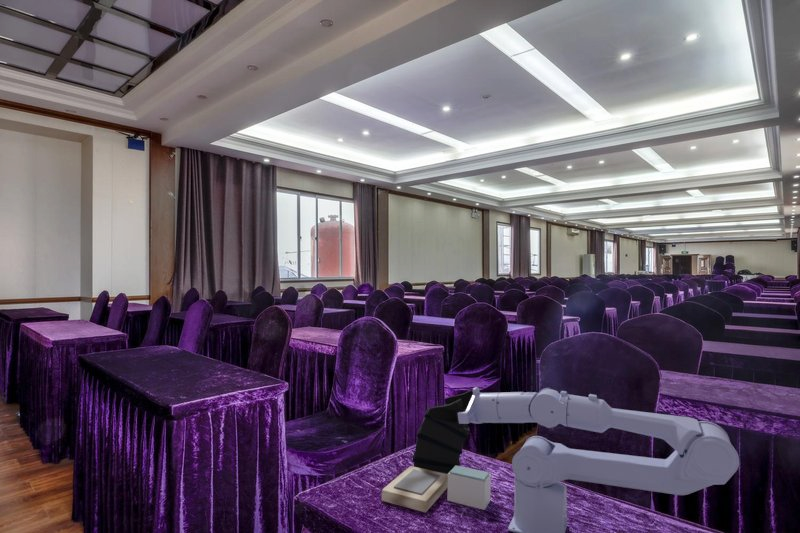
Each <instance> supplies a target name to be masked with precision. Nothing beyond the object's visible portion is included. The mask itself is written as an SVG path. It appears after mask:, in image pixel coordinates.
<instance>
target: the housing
mask: <svg viewBox="0 0 800 533" xmlns="http://www.w3.org/2000/svg"><path fill="white" fill-rule="evenodd" d="M491 475H492V474H491V473H490V472H489V471H485V470H481V469H480V470H479V469H474V468H470V467H465V466H461V465H460V466H457V465H456V466H455V467H454V468H453V469H452V470H451V471H450V472H449V473H448V488H447V489H446V490H447V492H446V494H447V497H446V498H447V499H446V500H447V502H452V503H456V504H460V505H463V506H469V507H471V508H476V509H479V510H486V509H487V507H488V505H489V503H490V502H491V492H492V491H491V488H492V486H491V483H492V482H491V481H492V476H491Z"/></svg>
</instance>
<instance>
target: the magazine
mask: <svg viewBox="0 0 800 533" xmlns="http://www.w3.org/2000/svg"><path fill="white" fill-rule="evenodd" d="M430 408H433V407H432V406H429V407H428V409H426V410H425V412H424V418H422V419H423V420H422V421H421V425H420V428H418V429H417V435H416V437H417V439H416V443H415V449H414V451H413V455H412V462H413V467H418V468H422V469H427V470H431V471H436V472H440V473H445V474H448V473H449V472H450V471H451V470H452V469H453V468H454V467H455V466H456V465H457V466H461V461H460V457H461V455H462V454H463V446H464V443H465V441H466V440H467V441H468V439H469V436H470V435H469V434H470V427H469V426H467V424H464V429H462V430H458V429H456V428H455V427H453V426H451V425H449V424H447V423H444V422H440V421H437V420H433V419H431V415H430Z"/></svg>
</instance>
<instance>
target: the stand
mask: <svg viewBox="0 0 800 533" xmlns="http://www.w3.org/2000/svg"><path fill="white" fill-rule="evenodd" d="M446 490H448V474H445V473H440V472H436V471H431V470H427V469H422V468H418V467H414V465H413V466H412V465H410V466H409V467H407V468H406V469H405V470H404V471H402V472H401V473H400V474H399V475H398V476H397V477H395V478H394V479H393V480H392V481H390V483H388V484H387V485H386V486H385V487H383V488H382V489H381V502H386V503H390V504H391V505H397V506H400V507H403V508H408V509H411V510H414V511H418V512H422V513H427V512H428V511H429V509H430V508H431V507H432V506H433V505H434V504H435V503H436V501H437V500H439V498H440V497H441V496H442V495H443V494H444V493H445V492H446Z"/></svg>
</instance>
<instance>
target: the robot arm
mask: <svg viewBox="0 0 800 533" xmlns="http://www.w3.org/2000/svg"><path fill="white" fill-rule="evenodd" d="M567 391H568V390H567ZM567 391H565V390H560V393H559V391H558V390H555V389H552V388H550V387H545V388H543V389H540V390H539V391H538V392H536V391H534V392H532V391H527V392H524V391H510V392H509V391H508V392H507V391H506V392H501V391H500V392H480V388H479V387H478V386H475V387H473V388H472V389H470V390H469V391H466V392H464V393H460V394H456V395H452V396H448V397H445V398H444V404H443V405H437V406H433V407H432V408H430V415H431V419H433V420H437V421H440V422H444V423H447V424H449V425H451V426H453V427H455V428H456V429H458V430H462V429H464V425H468V424H470V423H471V424H478V425H479V424H485V423H486V424H488V423H489V424H490V423H491V424H525V423H537V424H538V425H540V426H542V427H545V428H547V429H551V428H555V427H557V426H558V425H562V426H564V427H566V428H567V427H568V428H573V429H578V430H583V431H584V430H585V431H588V432H595V433H599V434H602V433H604V432H605V431H607V430H608V429H611V428H612V429H616V430H620V431H621V430H622V431H624V432H625V431H626V432H631V433H635V434H639V435H642V436H643V435H644V436H648V437H653V438H656V439H661V440H663V441H664V442H666V443H667V444H668V445H669V446H670V447H671V448H673V450H674V451H673V452H672V453H671V454H670V455H669V456H668V457H666V458H655V457H647V456H638V455H629V454H623V453H622V454H620V453H612V452H603V451H595V450H586V449H579V448H578V449H576V448H570V447H567V446H566V445H564V444H563V443H559V442H553V441H551V440H548V439H547V438H546V437H543V436H540V435H533V436H531V437H528V438H527V439H526V440H525V442H524V443H523V446H522V447H521V448H520V449H519V450H518V451H517V452H516V453H514V456H512V460H511V467H512V468H511V469H512V471H513V474H514V496H513V497H514V498H513V499H514V500H513V501H514V502H513V504H514V506H513V507H514V508H513V512H514V514H513V517H512V519H511V521H510V523H509V525H508V527H507V529H508V531H510V532H513V533H566V530H567V528H568V516H567V512H568V511H567V510H568V508H567V507H568V505H567V504H568V488H567V485H566V484H563V483H561V482H563V481H567V480H571V481H572V480H573V481H579V482H586V483H587V482H588V483H593V484H599V485H600V484H601V485H607V486H613V487H621V488H626V489H634V490H643V491H648V492H655V493H663V494H671V495H676V496H686V495H690V494H692V493H695V492H698V491H700V490H703V489H706V488H708V487H711V486H714V485H718V486H719V485H725V484H727V483H728V481H729V480H730V479H731V478H732V476H734V474H735V473H736V472H737V471H738V470H739V469H738V468H739V466H740V458H739V454H738V451H737V450H736V449H735V447H734V445H733V444H732V443H731V441H730V437H729V435H728V432H726V431H725V429H724V428H722V426H720V425H718V424H716V423H714V422H711V421H706V420H701V421H698V419H696V418H693V417H689V416H680V415H672V414H665V413H664V414H662V413H655V412H646V411H639V410H630V409H624V408H623V409H622V408H614V407H611V406H610V405H609V404H608V403H607V402H606V401H605V399H601V398H598V396H597V394H592V393H589V394H588V397H587V396H582V395H575V394H569V393H568V392H567Z"/></svg>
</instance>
